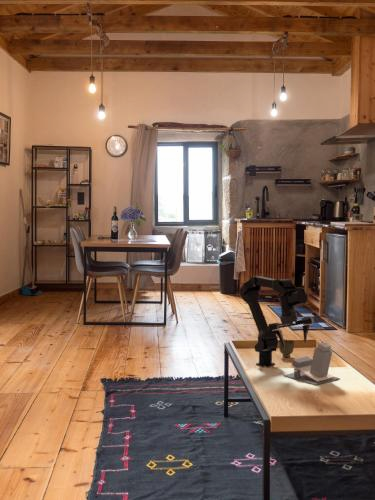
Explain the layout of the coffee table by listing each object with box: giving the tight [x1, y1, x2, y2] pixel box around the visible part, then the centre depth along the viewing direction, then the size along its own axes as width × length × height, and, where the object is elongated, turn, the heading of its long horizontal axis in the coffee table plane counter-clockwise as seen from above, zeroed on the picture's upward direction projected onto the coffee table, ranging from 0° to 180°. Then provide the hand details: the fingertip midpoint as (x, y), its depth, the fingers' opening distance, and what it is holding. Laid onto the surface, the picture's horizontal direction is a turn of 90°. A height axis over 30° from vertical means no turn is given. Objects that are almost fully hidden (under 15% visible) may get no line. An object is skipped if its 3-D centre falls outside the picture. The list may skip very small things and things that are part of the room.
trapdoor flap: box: [290, 356, 334, 382], centre depth 220 cm, size 14×10×3 cm
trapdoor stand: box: [283, 368, 341, 386], centre depth 220 cm, size 17×15×4 cm
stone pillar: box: [310, 342, 333, 378], centre depth 216 cm, size 5×5×13 cm
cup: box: [278, 338, 295, 359], centre depth 256 cm, size 8×7×8 cm
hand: (294, 344), depth 225 cm, fingers open, 9 cm apart
